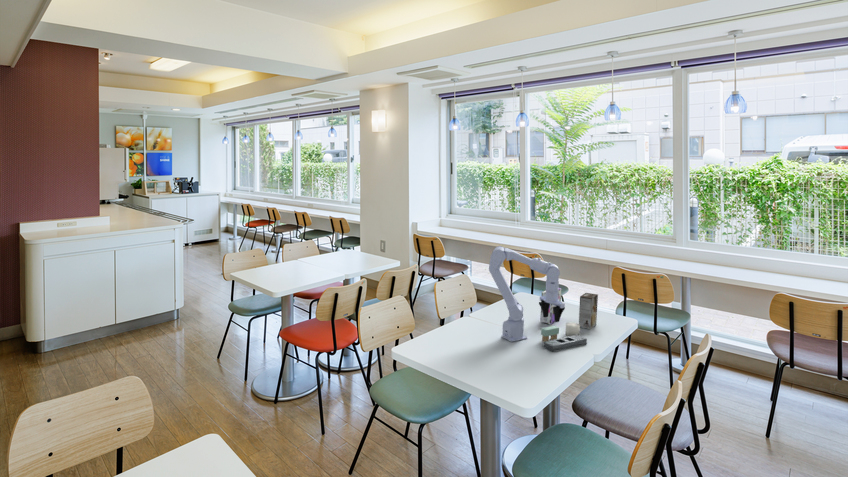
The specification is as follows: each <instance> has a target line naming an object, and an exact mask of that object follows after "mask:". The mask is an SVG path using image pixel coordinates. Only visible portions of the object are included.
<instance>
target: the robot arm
mask: <svg viewBox="0 0 848 477" xmlns="http://www.w3.org/2000/svg"><path fill="white" fill-rule="evenodd" d="M505 260H506V262H508V261H516V262H519V263H521V264H525V265H527V266H529V268H530V270H532V271H534V272H537V273H539V274H542V275H546V280H545V290H546V297H545V296H542V295H541V296H539V302H538V305H539V307H540V310H541V309H542V312H543V317H548V313H549V306H550V304H552V305H555V306H556V307H553V311H554V319H555V322H554V323H559V322H560V320H561V316H562V314H563V312H564V311H565V309H566V305H565V303H564V302H562V300H561V301H560V299H558V293H559V288H560V287H559V286H560V285H559V284H560V281H559V280H560V275H561V273H560V270H559V267H558V265H556V264H555V263H552V262H550V261H548V262H547V261H545V260H542V258H541V257H534V258H531V257H529V256H526V255H525V254H524V255H523V254H522V253H519V252H517V251H515V250H513V249H510V248H508V247H504V246H500V245H499V246H496V247H495V248H493V251H492V253H491V255H490V258H489V265H488V266H489V267H488V271H489V273H490V275H491V277H492V278H493V281H494V283H495V285H496V286H497V288H498V290H499V293H500V294H501V296H502V298H503V300H504V302H505V305H506V307H507V310H508V314H509V315H508V318H507V320H505V321H503V322H502V334H501V337H502V338H503V339H505V340H507V341H509V342H512V343H513V342H516V341H522V340H527V339H528V337H527V336H525V335H524V328H525V324H524V323H525V318H524V307H523V305H522V304H521V303H519V302H518V299H517V298H516V297H515V295H514V294H513V291H512V289H511V288H510V286H509V284H508V282H507V280H506V278H505V276H504V274H503V272H502V270H501V266H502V264H503V263H504V261H505Z"/></svg>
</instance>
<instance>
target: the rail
mask: <svg viewBox="0 0 848 477" xmlns="http://www.w3.org/2000/svg"><path fill="white" fill-rule="evenodd" d="M587 341H588V338H586V337H583V336H582V335H580V334H579V335H573V336H563V337H559V338H557V339H554V340H552V339H549V341H543V348H545V349H547V350H549V351H551V352H552V353H553V352H557V351H561V350H566V349H570V348H575V347H579V346H584V345H587V343H588V342H587Z"/></svg>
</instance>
